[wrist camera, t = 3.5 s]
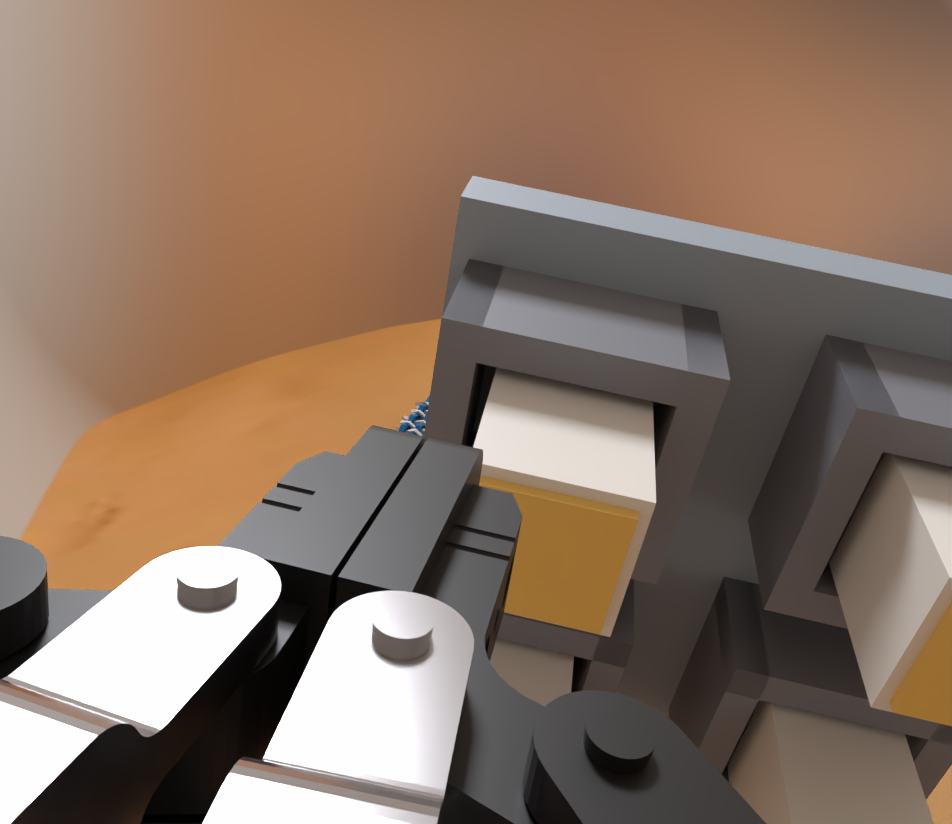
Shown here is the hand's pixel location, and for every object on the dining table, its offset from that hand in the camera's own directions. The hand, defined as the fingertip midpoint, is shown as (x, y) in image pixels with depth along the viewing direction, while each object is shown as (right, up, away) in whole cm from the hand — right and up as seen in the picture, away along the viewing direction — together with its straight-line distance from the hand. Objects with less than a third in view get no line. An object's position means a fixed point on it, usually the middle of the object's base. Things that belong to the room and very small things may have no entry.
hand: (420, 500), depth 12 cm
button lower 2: (+11, -12, +15) cm, 22 cm away
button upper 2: (+12, -5, +10) cm, 16 cm away
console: (+6, -14, +25) cm, 29 cm away
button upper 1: (+2, -2, +11) cm, 11 cm away
